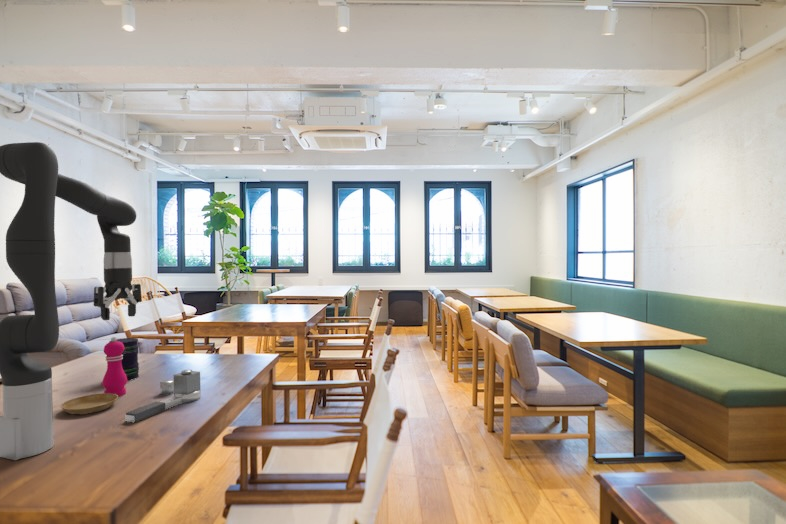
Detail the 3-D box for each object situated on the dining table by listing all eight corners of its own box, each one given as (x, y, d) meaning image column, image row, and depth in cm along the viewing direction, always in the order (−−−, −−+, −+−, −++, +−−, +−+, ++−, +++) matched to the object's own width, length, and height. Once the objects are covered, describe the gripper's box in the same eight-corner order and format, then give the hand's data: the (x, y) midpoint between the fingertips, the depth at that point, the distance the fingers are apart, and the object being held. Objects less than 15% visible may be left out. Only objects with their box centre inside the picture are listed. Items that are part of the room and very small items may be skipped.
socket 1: (167, 395, 146) (166, 383, 146) (157, 394, 147) (157, 382, 147) (177, 391, 150) (177, 380, 150) (167, 390, 151) (167, 379, 151)
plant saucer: (129, 402, 139) (129, 394, 139) (85, 419, 125) (85, 410, 125) (94, 399, 143) (94, 391, 143) (48, 415, 129) (48, 406, 129)
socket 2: (187, 394, 138) (186, 373, 138) (173, 393, 140) (173, 372, 140) (200, 389, 143) (199, 369, 143) (187, 388, 145) (187, 368, 145)
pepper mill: (115, 398, 143) (113, 339, 143) (97, 397, 144) (95, 338, 144) (132, 391, 150) (131, 335, 150) (115, 390, 152) (113, 334, 151)
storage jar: (128, 381, 163) (127, 342, 162) (103, 382, 163) (102, 343, 163) (144, 374, 173) (143, 337, 172) (120, 374, 173) (119, 338, 173)
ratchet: (139, 424, 120) (139, 402, 120) (119, 420, 123) (118, 400, 123) (206, 396, 144) (205, 378, 144) (187, 394, 147) (187, 376, 147)
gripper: (130, 266, 143) (131, 314, 143) (86, 267, 129) (88, 321, 130) (146, 266, 140) (147, 315, 140) (104, 267, 127) (105, 321, 127)
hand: (119, 318), depth 135 cm, fingers open, 8 cm apart
